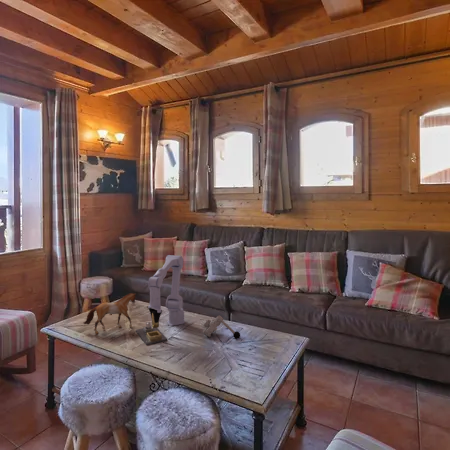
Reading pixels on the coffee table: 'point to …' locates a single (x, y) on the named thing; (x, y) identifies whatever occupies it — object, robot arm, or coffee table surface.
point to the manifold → (151, 334)
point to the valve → (216, 322)
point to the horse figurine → (111, 310)
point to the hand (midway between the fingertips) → (155, 321)
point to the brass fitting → (154, 325)
